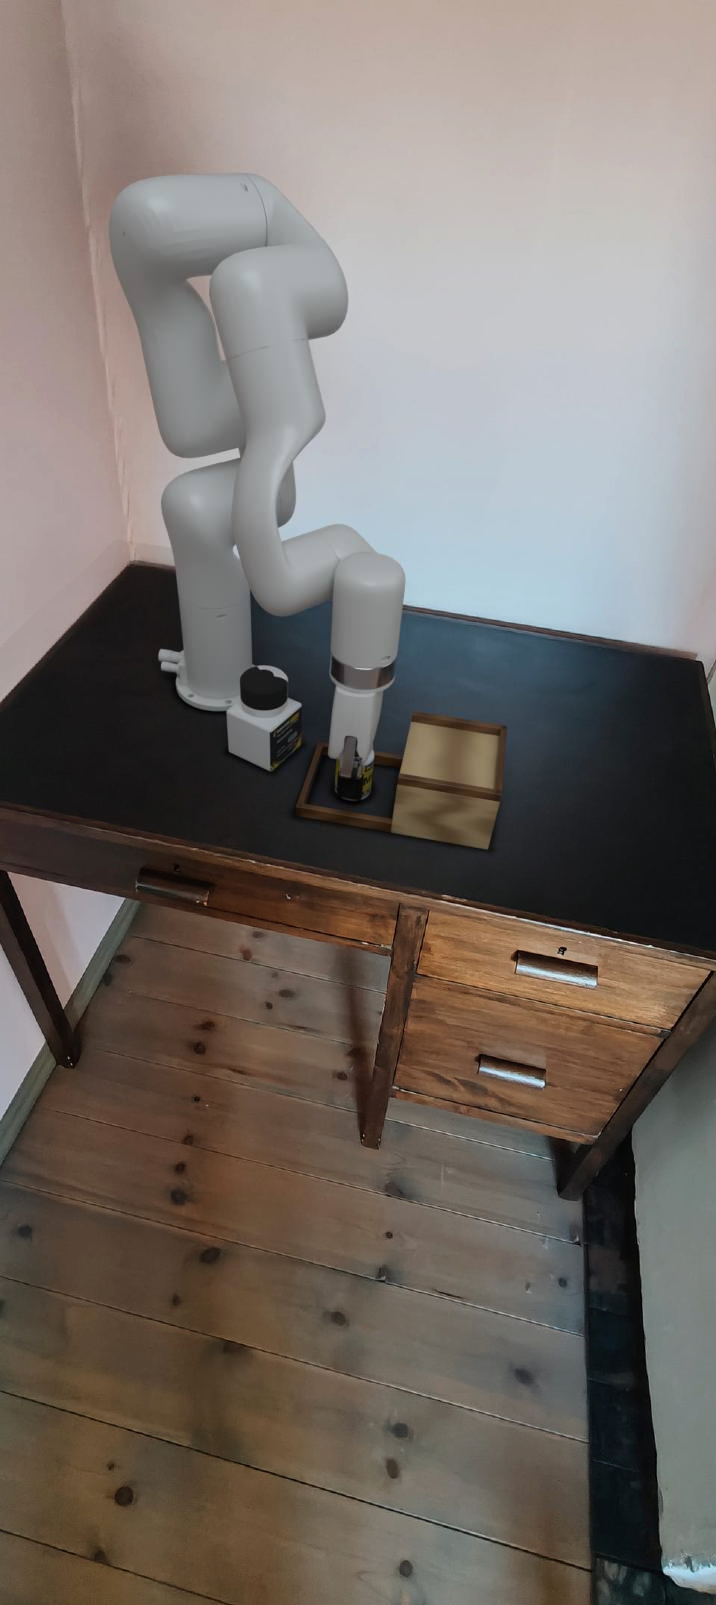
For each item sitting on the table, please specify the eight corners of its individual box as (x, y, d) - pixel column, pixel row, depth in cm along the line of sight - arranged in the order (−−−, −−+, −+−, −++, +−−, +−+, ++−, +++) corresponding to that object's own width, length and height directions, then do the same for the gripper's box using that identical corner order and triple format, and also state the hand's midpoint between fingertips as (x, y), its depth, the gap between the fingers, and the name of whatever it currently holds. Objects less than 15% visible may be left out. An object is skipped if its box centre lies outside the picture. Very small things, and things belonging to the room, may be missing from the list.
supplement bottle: (367, 805, 105) (372, 755, 99) (330, 798, 105) (333, 748, 100) (374, 780, 108) (379, 730, 103) (338, 774, 109) (342, 724, 103)
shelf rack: (295, 815, 103) (296, 759, 96) (318, 750, 112) (320, 695, 106) (487, 849, 101) (501, 794, 94) (494, 780, 110) (507, 725, 104)
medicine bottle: (271, 773, 108) (270, 699, 100) (227, 752, 111) (223, 678, 102) (301, 744, 113) (303, 671, 104) (259, 725, 115) (257, 652, 107)
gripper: (344, 620, 100) (337, 737, 113) (314, 702, 88) (309, 823, 100) (406, 629, 99) (392, 746, 112) (383, 713, 87) (370, 834, 100)
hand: (353, 781), depth 106 cm, fingers closed on supplement bottle, 4 cm apart
